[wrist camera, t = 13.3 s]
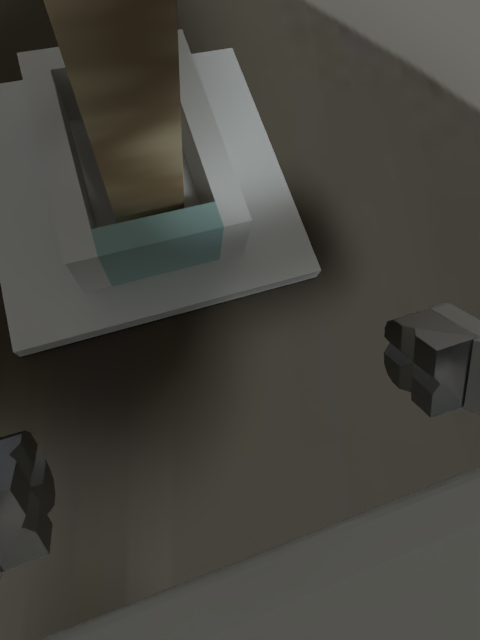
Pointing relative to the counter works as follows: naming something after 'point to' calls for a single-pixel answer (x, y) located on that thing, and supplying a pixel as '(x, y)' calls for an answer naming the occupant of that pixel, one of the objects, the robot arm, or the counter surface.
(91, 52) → the wooden block
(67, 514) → the counter surface
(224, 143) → the white square socket base
